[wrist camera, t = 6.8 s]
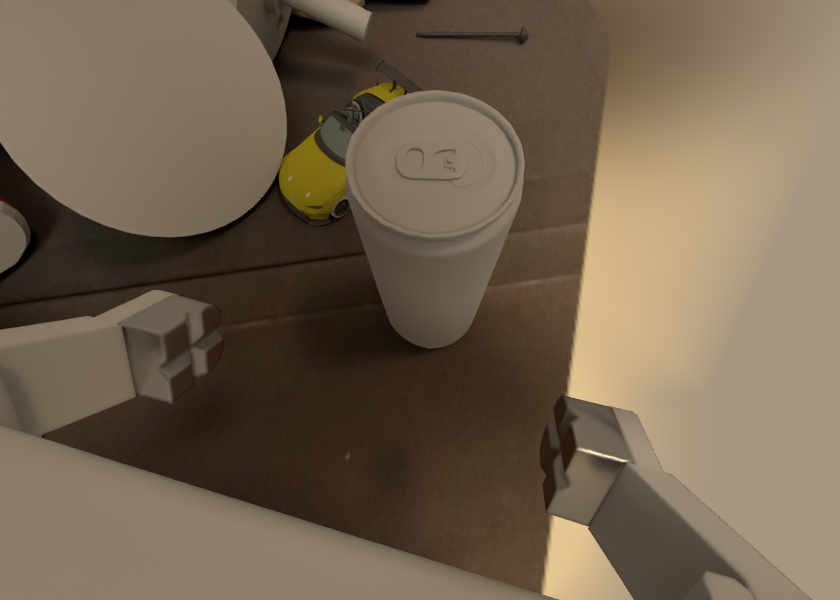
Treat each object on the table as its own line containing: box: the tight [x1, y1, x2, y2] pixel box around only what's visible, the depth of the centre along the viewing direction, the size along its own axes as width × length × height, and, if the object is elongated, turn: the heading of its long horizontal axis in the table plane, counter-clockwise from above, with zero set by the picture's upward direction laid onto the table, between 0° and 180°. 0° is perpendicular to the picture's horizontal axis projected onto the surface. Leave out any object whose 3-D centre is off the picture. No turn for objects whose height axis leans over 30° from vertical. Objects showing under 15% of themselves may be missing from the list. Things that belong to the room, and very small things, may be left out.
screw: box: [416, 26, 529, 43], centre depth 27 cm, size 8×1×1 cm
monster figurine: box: [0, 0, 287, 237], centre depth 21 cm, size 12×12×10 cm
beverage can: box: [345, 90, 525, 348], centre depth 15 cm, size 5×5×12 cm
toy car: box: [279, 60, 423, 226], centre depth 23 cm, size 5×10×3 cm, turn 136°
